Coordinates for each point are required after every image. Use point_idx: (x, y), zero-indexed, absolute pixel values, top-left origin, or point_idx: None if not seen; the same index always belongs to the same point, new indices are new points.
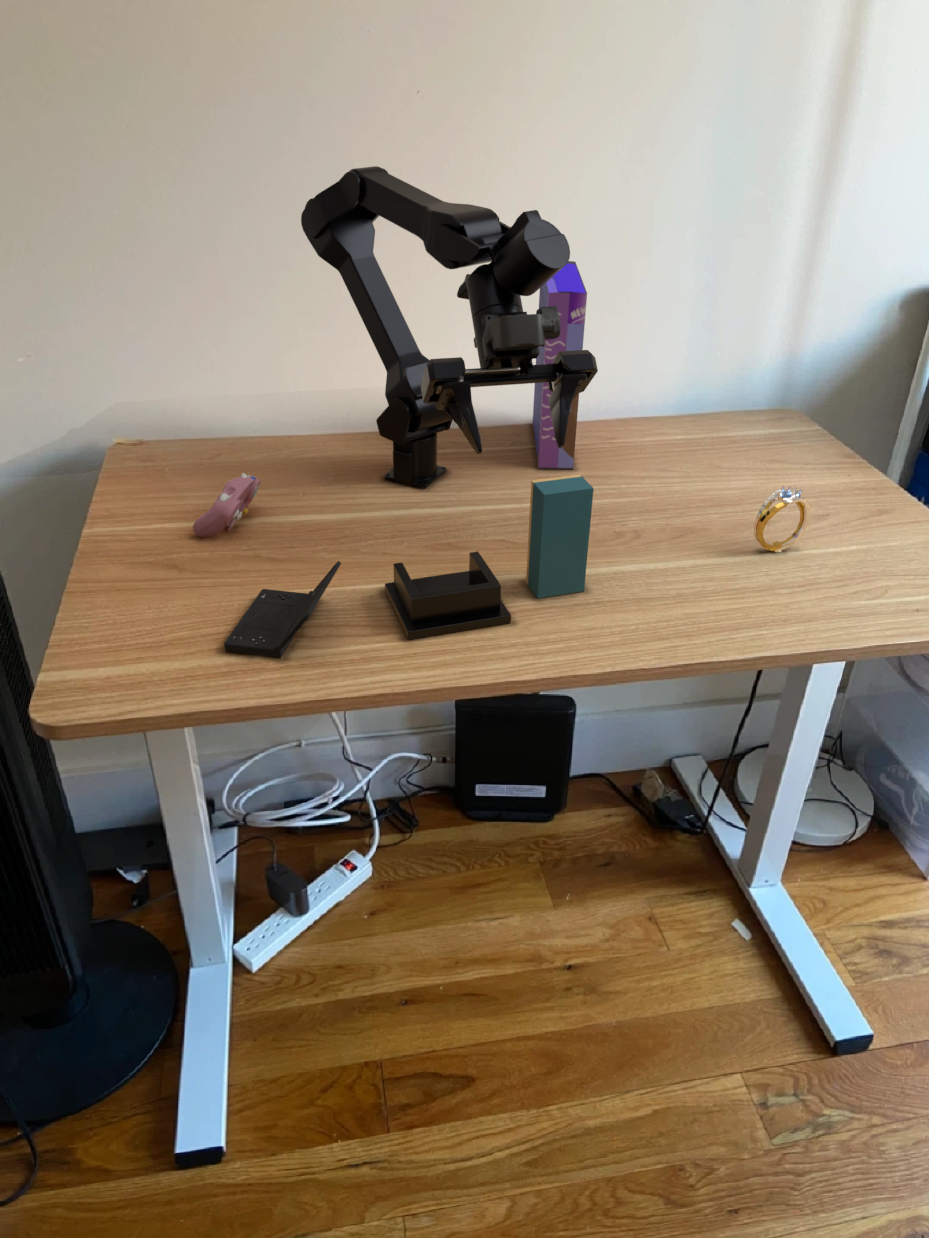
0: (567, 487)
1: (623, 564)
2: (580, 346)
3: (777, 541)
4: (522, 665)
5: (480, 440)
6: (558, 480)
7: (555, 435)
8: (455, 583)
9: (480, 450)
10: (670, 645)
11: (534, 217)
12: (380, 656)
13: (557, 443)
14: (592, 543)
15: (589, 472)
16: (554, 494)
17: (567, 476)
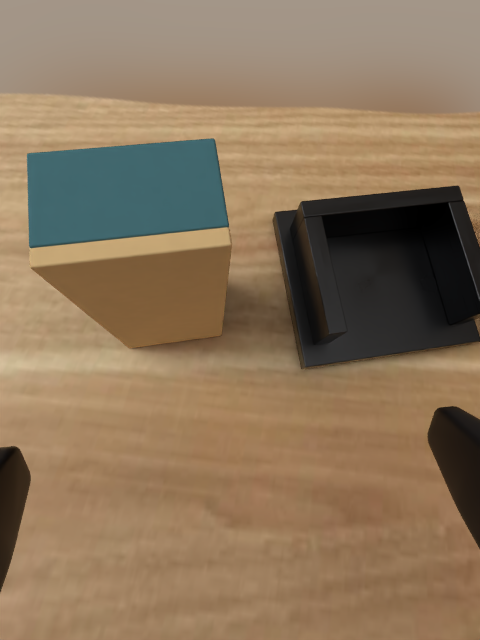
0: (118, 171)
1: (7, 377)
2: None
3: None
4: (274, 125)
5: (476, 438)
6: (132, 227)
7: (1, 566)
8: (357, 320)
9: (447, 408)
10: (47, 129)
11: None
12: (463, 175)
13: (22, 501)
14: (35, 480)
15: None
16: (177, 144)
17: (86, 252)
